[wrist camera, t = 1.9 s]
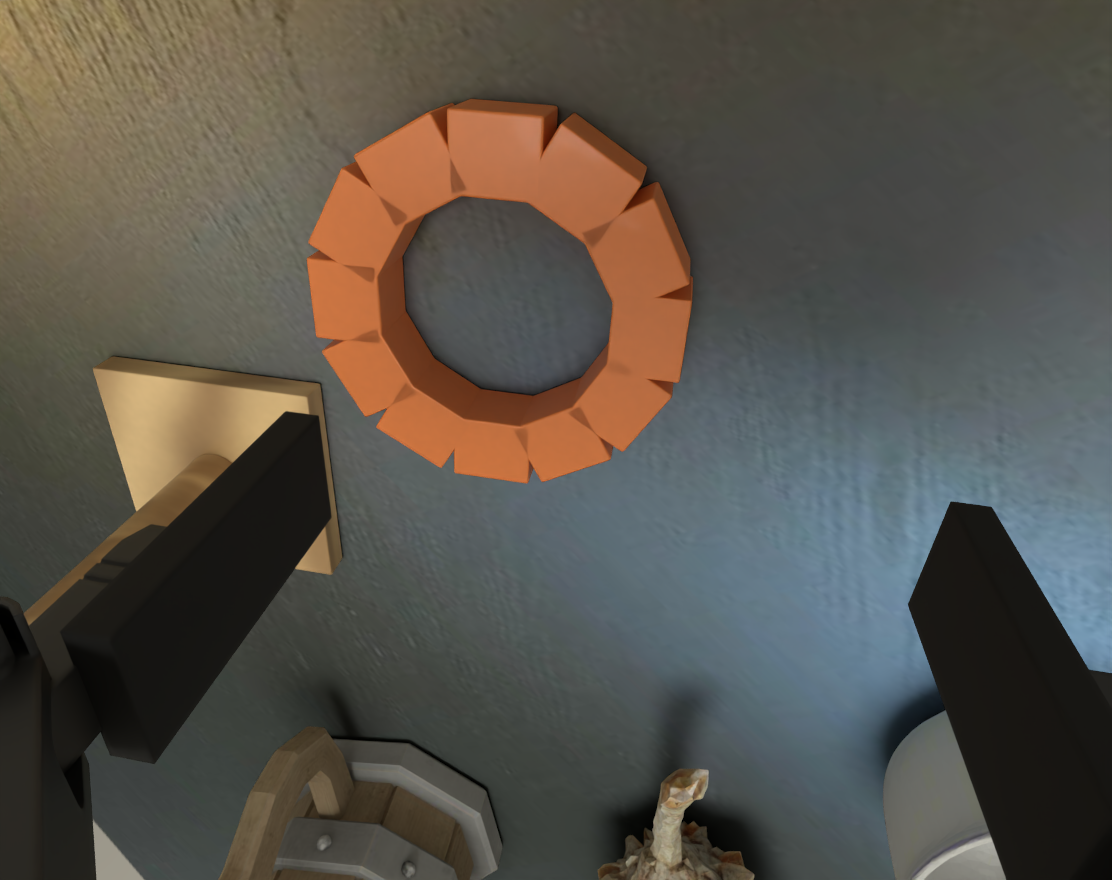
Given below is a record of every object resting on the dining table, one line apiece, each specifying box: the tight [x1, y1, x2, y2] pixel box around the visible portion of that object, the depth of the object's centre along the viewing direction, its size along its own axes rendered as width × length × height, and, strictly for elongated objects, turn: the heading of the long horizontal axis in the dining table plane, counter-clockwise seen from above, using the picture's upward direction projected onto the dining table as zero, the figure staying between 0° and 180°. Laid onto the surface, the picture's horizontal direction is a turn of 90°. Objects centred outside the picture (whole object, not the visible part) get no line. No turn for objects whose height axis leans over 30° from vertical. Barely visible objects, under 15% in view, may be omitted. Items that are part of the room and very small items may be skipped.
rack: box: [24, 356, 342, 625], centre depth 26 cm, size 9×9×12 cm
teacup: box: [883, 710, 1006, 880], centre depth 29 cm, size 14×11×8 cm
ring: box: [307, 99, 693, 483], centre depth 24 cm, size 12×12×2 cm
